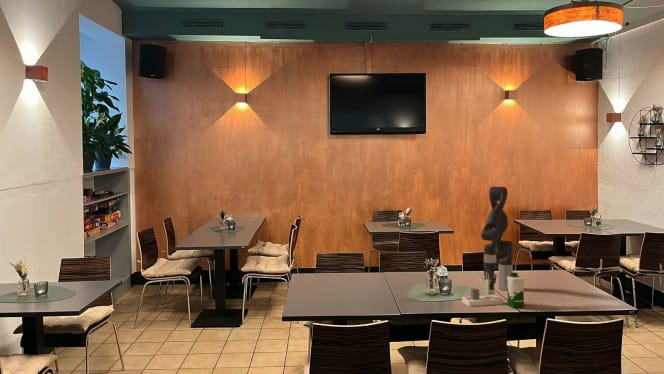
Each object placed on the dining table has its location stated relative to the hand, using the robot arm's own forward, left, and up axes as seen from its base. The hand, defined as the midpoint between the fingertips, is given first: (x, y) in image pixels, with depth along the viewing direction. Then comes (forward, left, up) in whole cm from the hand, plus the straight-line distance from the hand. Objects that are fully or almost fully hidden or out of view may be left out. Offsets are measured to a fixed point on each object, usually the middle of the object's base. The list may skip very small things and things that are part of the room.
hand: (490, 288), depth 350 cm
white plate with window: (+5, 0, -9) cm, 10 cm away
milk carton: (-11, +12, -9) cm, 19 cm away
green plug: (0, 0, -3) cm, 3 cm away
